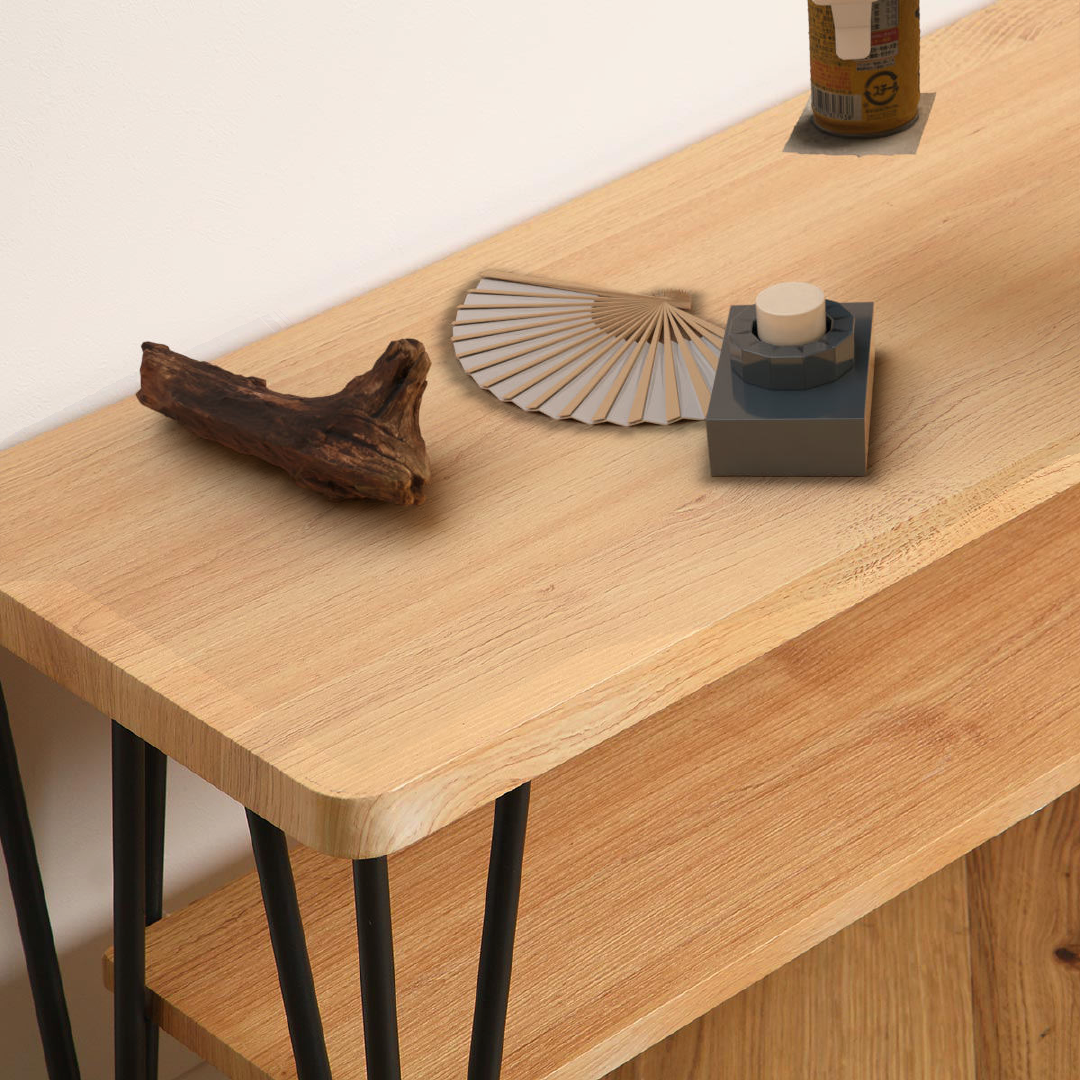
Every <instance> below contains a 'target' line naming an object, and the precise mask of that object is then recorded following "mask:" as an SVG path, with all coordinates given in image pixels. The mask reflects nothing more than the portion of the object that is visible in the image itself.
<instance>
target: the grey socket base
mask: <svg viewBox="0 0 1080 1080" xmlns="http://www.w3.org/2000/svg"><path fill="white" fill-rule="evenodd" d="M825 306H826V333H825V335H824V336H823V337H822V338H820V339H819V340H816V341H813V342H810V343H806V344H803V345H800V346H776V345H773V344H769V343H766V342H762V341H761V340H760V339H759V337H758V334H757V319H756V304H755V303H753V304H731V305H730V306H729V311H728V316H727V320H726V325H725V333H724V338H723V342H722V347H721V352H720V356H719V361H718V365H717V370H716V375H715V379H714V384H713V388H712V393H711V397H710V402H709V407H708V411H707V416H706V419H705V429H706V440H707V441H706V443H707V451H708V462H709V473H710V476H712V477H718V476H719V477H720V476H721V477H723V476H724V477H730V476H731V477H732V476H733V477H741V476H742V477H753V476H754V477H857V476H858V477H865V476H867V465H868V454H869V453H868V452H869V441H870V440H869V438H870V429H871V428H870V426H871V413H872V412H871V411H872V399H873V385H874V372H875V360H876V359H875V358H876V343H875V342H876V341H875V339H876V337H875V336H876V335H875V301H855V302H854V301H852V302H851V301H850V302H849V301H848V302H839V301H835V300H831V299H829V298H828V299H827V298H825Z"/></svg>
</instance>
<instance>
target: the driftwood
mask: <svg viewBox="0 0 1080 1080" xmlns="http://www.w3.org/2000/svg"><path fill="white" fill-rule="evenodd" d="M140 349H141V352H142V356H141V362H140V367H139V376H140V388H139V390H137V392H136V393H135V397H136V399H137V400H138V402H139V404H140V405H142V406H144V407H146V408H148V409H149V410H152V411H154V412H157V413H158V414H161V415H163V416H164V417H166V418H169V419H171V420H173V421H175V422H176V423H178V424H180V425H182V426H183V427H184V428H185V429H186V430H187V431H190V432H193V433H194V434H196V435H197V436H198V437H200V438H203V439H205V440H210V441H215V442H217V443H219V444H221V445H223V446H225V447H227V448H229V449H231V450H233V451H235V452H237V453H240V454H244V455H251V456H256V457H258V458H260V459H262V460H263V461H265V462H267V463H269V464H272V465H274V466H277V467H280V468H282V469H283V470H284V471H286V472H288V473H289V476H290V478H291V479H294V480H295V483H296V486H298V487H300V488H302V489H307V490H311V491H314V492H317V493H321V494H322V497H323V498H324V499H325V500H328V501H331V502H336V501H343V500H345V499H355V498H359V499H362V500H363V499H365V498H369V499H373V500H374V499H375V500H380V501H385V502H386V503H387V504H390V505H391V506H393V507H404V508H406V507H408V506H416V507H421V506H422V505H423V504H424V503H425V501H426V498H427V496H426V493H425V491H424V490H425V487H427V485H428V484H429V482H430V480H431V478H432V475H431V473H432V471H431V470H430V463H431V460H430V457H429V455H428V453H427V448H426V442H425V439H424V438H423V436H422V431H421V427H420V409H421V406H422V405H421V404H422V401H423V395H424V393H425V391H426V389H427V387H428V384H429V383H428V382H429V381H428V380H427V377H428V374H429V372H430V370H431V367H432V364H433V363H432V360H431V358H430V355H429V353H428V352H427V351H426V347H425V345H424V343H423V342H422V341H420V340H418V339H416V338H408V337H406V338H400V339H397V340H391V341H390V342H389V344H388V345H387V347H386V349H385V350H384V352H383V353H382V354H381V355H380V356H379V357H378V358H377V359H376V361H375V362H374V364H373V365H372V367H371V369H369V370H368V371H366V372H364V373H363V374H360V375H356V376H355V377H353V378H352V379H351V380H349V381H348V382H347V383H346V384H345V387H343V388H342V389H341V390H340V391H338V392H336V393H333V394H329V395H324V396H315V397H314V396H313V397H309V396H300V395H295V394H291V393H281V392H277V391H274V390H271V389H269V388H268V387H267V379H265V378H262V377H257V376H254V375H252V376H245V375H242V374H236V373H234V372H232V371H229V370H226V369H225V368H223V367H220V366H218V365H216V364H213V363H210V362H208V361H206V360H200V361H199V360H197V359H195V358H191V357H189V356H187V355H184V354H181V353H179V352H177V351H174V350H171V349H170V347H169V346H168V345H167V344H164V343H157V342H153V341H149V340H147V341H142V343H141V344H140Z"/></svg>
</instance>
